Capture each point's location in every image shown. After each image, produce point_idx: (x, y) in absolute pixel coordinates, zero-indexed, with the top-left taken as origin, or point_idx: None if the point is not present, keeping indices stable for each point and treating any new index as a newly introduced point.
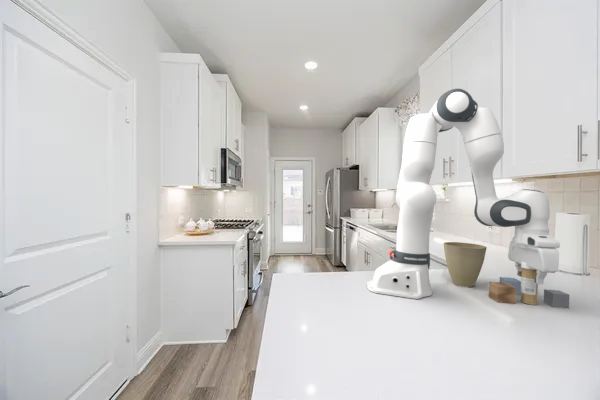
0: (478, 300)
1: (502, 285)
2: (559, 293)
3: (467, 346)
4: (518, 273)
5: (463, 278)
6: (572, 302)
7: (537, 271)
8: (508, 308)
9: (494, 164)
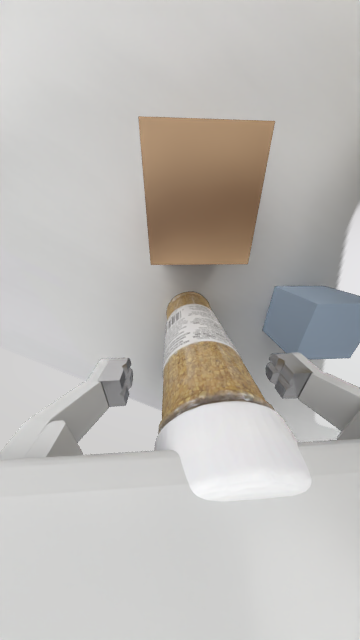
0: (154, 41)
1: (176, 185)
2: None
3: None
4: (292, 360)
5: None
6: None
7: (39, 440)
8: (84, 187)
9: None
